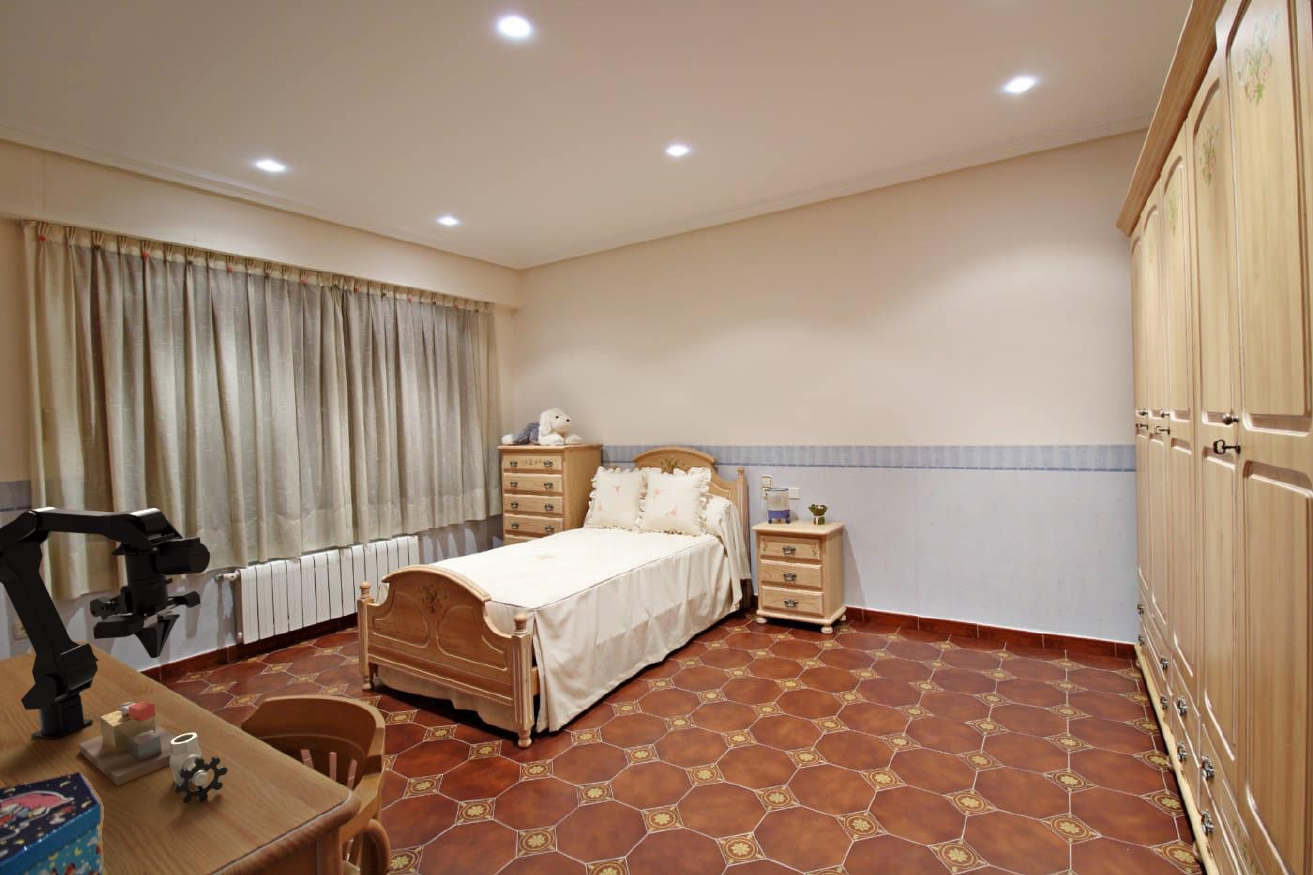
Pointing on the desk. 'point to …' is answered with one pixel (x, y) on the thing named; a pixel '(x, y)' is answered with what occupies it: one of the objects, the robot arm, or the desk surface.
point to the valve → (192, 768)
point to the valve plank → (126, 758)
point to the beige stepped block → (130, 735)
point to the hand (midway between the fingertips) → (155, 657)
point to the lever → (138, 710)
